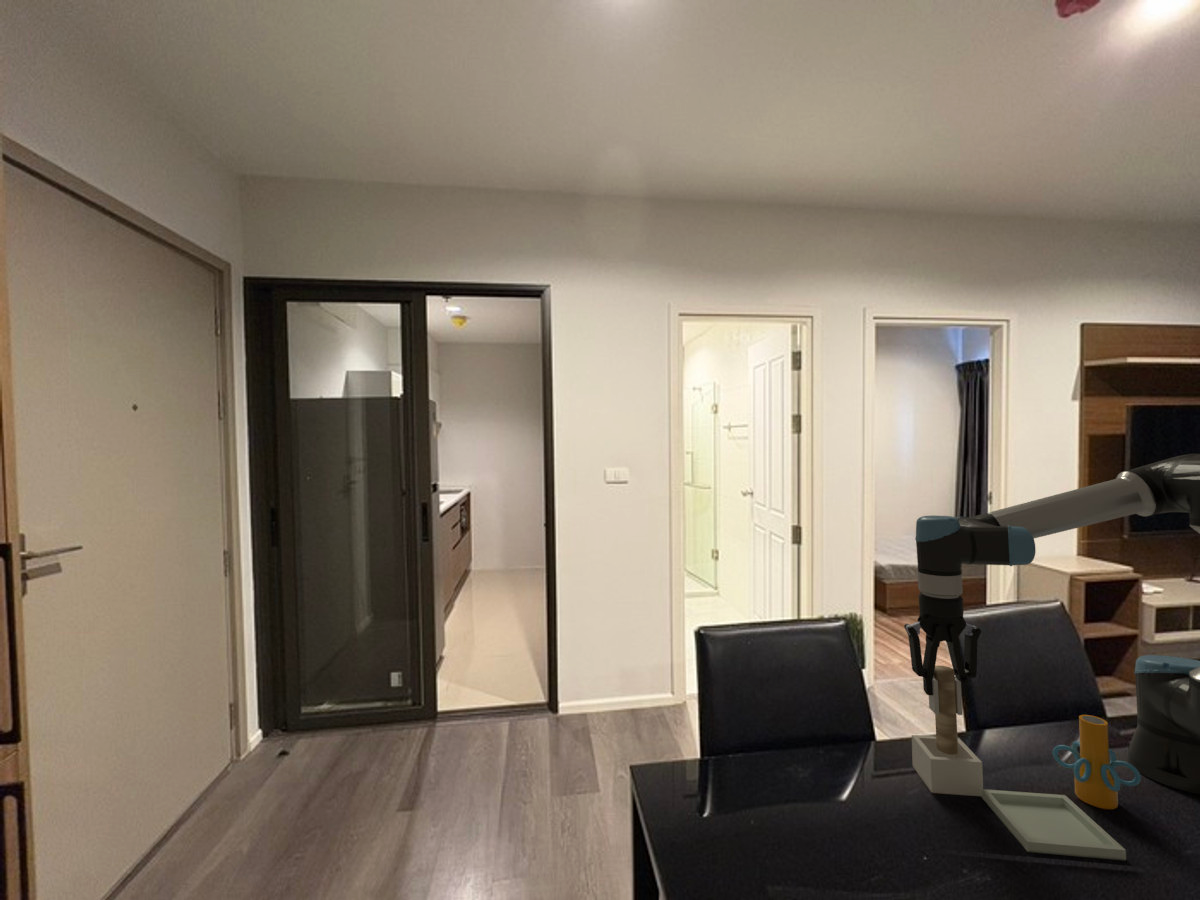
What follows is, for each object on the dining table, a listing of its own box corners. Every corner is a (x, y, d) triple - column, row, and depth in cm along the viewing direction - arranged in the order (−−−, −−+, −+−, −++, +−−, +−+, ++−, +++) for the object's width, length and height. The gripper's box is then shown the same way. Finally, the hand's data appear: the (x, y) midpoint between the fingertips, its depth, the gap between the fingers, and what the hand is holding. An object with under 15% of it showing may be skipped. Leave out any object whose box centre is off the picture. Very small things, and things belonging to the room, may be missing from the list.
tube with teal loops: (1155, 825, 94) (1152, 739, 94) (1086, 818, 96) (1083, 734, 96) (1105, 783, 106) (1102, 706, 106) (1044, 778, 108) (1042, 703, 108)
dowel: (952, 745, 108) (949, 665, 109) (961, 755, 105) (957, 672, 105) (933, 744, 109) (929, 665, 109) (941, 754, 105) (937, 672, 106)
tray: (1065, 807, 99) (1065, 795, 99) (1126, 864, 85) (1125, 850, 85) (981, 800, 101) (981, 789, 101) (1028, 855, 88) (1027, 841, 88)
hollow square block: (959, 771, 111) (958, 737, 111) (983, 799, 102) (982, 762, 102) (912, 768, 112) (911, 735, 112) (931, 795, 103) (930, 759, 103)
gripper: (975, 589, 110) (981, 704, 109) (889, 588, 113) (893, 701, 112) (996, 598, 102) (1002, 722, 102) (903, 598, 105) (908, 718, 105)
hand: (945, 711), depth 107 cm, fingers closed on dowel, 3 cm apart
